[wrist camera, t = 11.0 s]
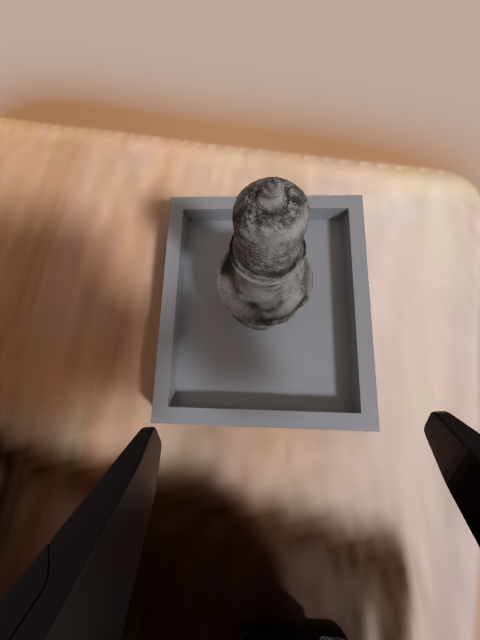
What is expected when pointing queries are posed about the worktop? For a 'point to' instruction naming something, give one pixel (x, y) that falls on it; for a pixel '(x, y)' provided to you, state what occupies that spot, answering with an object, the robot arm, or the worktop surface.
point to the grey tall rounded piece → (267, 255)
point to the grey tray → (272, 345)
